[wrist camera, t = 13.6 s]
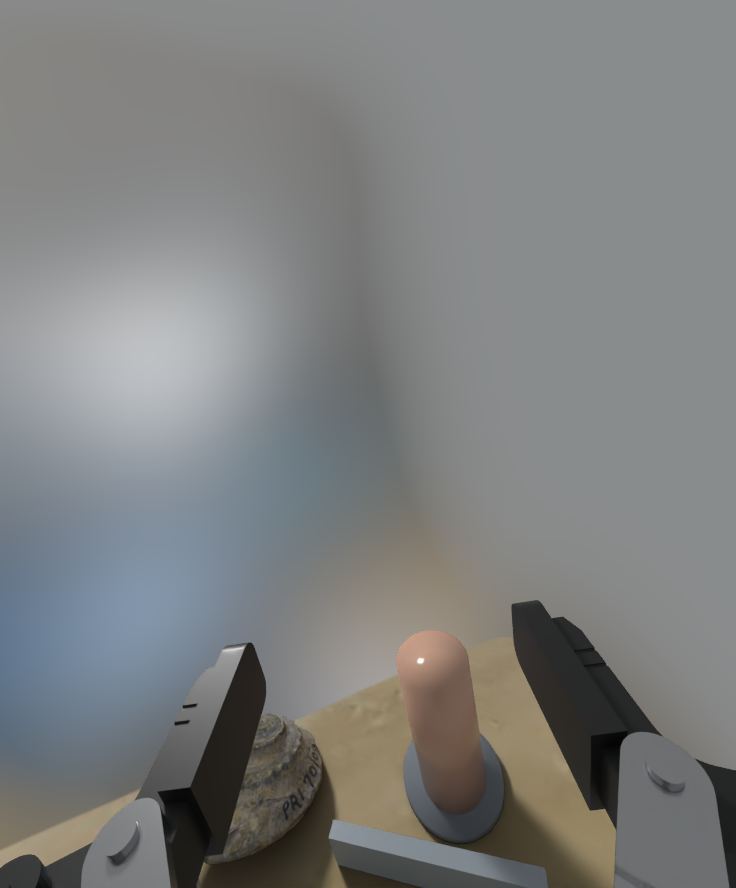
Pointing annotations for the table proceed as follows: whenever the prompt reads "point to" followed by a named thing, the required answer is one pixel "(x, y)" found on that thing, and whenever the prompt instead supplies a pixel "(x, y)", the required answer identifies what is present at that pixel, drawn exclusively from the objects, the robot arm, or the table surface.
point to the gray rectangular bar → (427, 861)
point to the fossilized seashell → (273, 788)
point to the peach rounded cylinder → (443, 719)
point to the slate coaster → (454, 825)
